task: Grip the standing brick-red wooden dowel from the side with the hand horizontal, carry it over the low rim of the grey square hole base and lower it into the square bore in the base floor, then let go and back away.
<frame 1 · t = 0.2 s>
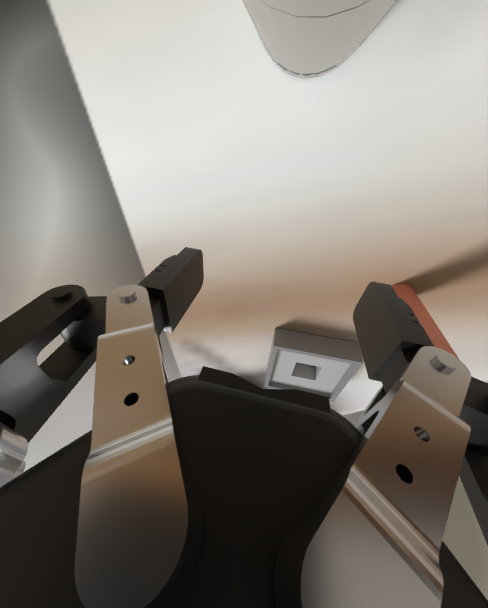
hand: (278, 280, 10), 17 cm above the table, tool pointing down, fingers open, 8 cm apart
peg: (398, 293, 28), on the table
grey square hole base: (305, 358, 41), on the table
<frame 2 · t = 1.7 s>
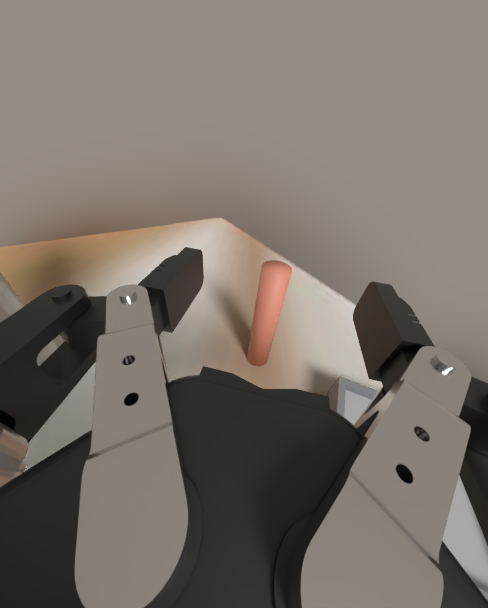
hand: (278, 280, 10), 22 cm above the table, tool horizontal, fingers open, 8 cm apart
peg: (257, 357, 33), on the table
grey square hole base: (388, 475, 23), on the table
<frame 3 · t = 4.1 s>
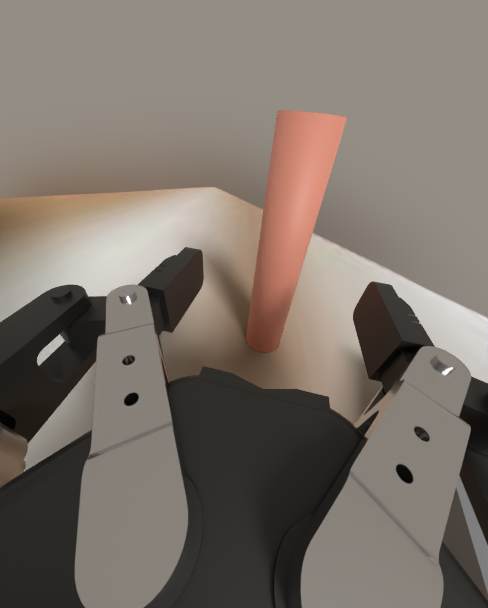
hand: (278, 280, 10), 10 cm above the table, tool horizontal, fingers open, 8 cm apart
peg: (262, 338, 20), on the table
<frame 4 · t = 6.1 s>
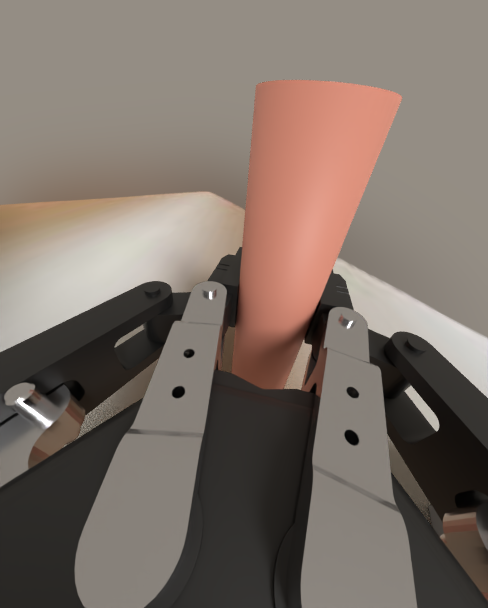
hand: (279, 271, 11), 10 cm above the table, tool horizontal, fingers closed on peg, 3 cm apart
peg: (251, 406, 15), on the table, touching gripper
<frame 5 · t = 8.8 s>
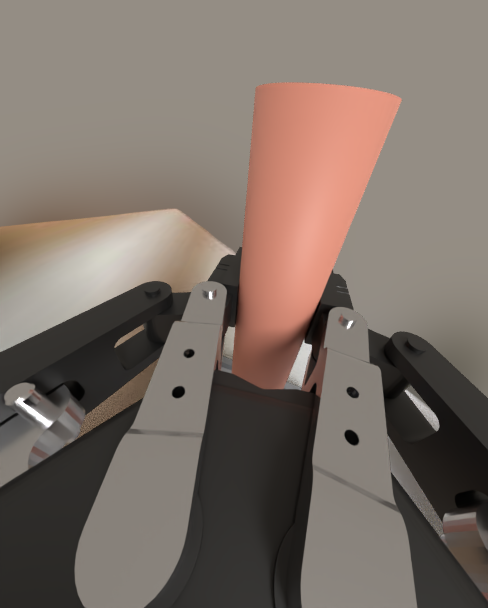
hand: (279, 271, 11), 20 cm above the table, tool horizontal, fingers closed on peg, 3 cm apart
peg: (250, 406, 15), point 10 cm above the table, touching gripper
when the fingers open (10 cm above the table, at t = 11.4 s): peg stays where it is, resting in grey square hole base.
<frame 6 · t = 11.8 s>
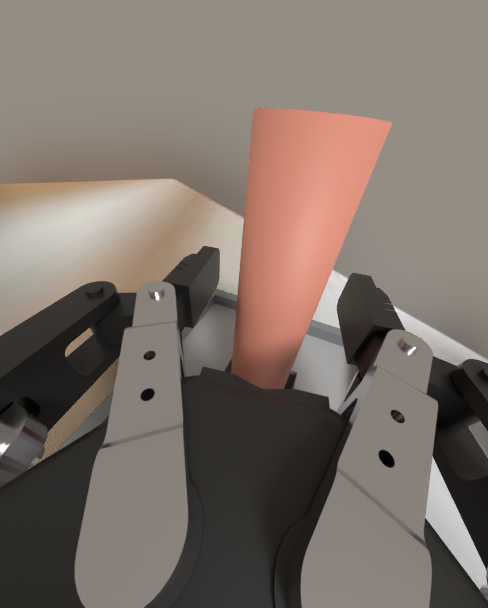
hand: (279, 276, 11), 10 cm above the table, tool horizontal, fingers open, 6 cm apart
peg: (250, 409, 15), resting in grey square hole base
grey square hole base: (250, 408, 15), on the table
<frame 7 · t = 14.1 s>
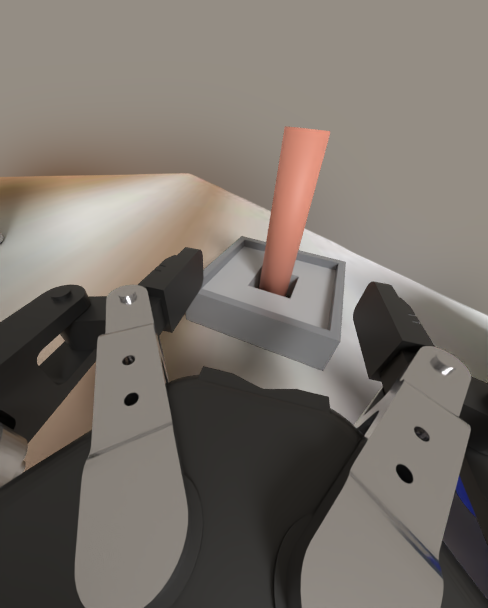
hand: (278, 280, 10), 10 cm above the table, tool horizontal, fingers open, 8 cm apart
peg: (270, 302, 25), resting in grey square hole base
grey square hole base: (270, 301, 25), on the table
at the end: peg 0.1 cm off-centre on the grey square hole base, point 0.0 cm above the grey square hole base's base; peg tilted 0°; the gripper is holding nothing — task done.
